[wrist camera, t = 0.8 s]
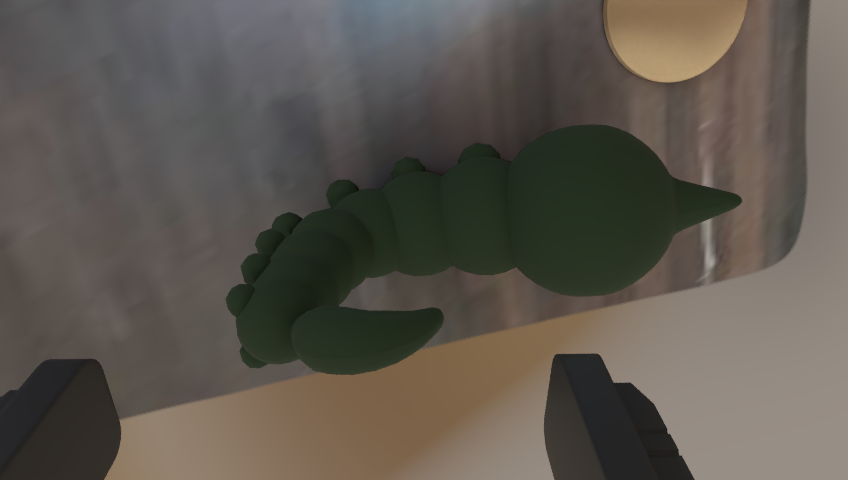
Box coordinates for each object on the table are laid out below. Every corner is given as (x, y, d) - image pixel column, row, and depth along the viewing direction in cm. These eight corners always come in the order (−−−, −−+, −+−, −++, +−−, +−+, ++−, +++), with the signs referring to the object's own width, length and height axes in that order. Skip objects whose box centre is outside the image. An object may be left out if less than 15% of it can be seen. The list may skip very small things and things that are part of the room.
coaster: (589, -49, 34) (593, -51, 33) (733, -97, 34) (739, -100, 33) (617, 100, 37) (621, 101, 36) (749, 56, 37) (755, 56, 36)
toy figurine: (311, 283, 40) (670, 233, 39) (238, 483, 22) (893, 394, 22) (282, 149, 37) (672, 94, 36) (168, 254, 19) (934, 147, 18)
